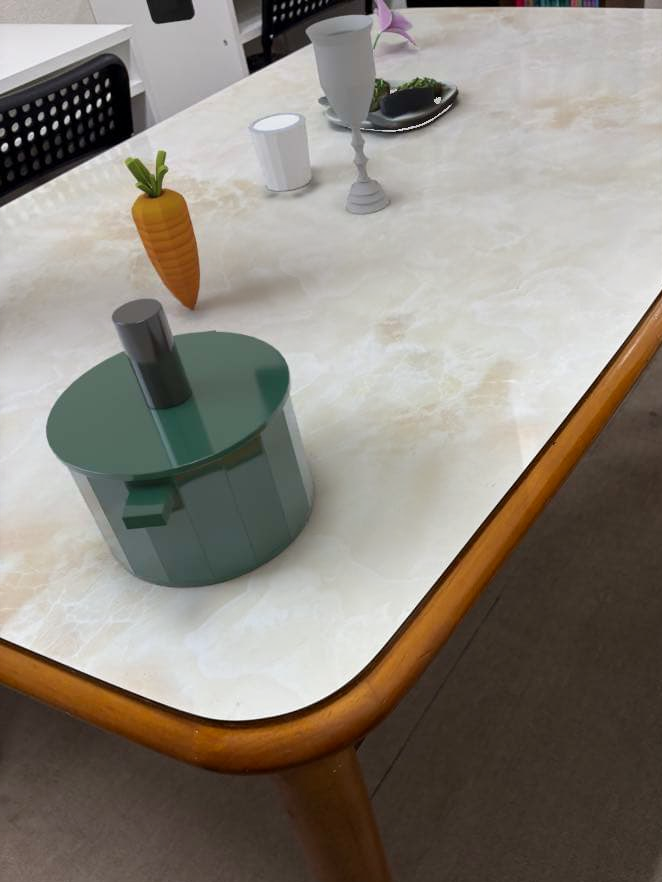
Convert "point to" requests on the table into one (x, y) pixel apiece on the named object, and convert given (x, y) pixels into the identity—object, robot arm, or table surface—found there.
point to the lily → (391, 21)
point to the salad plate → (402, 104)
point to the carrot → (166, 231)
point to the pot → (208, 511)
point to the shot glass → (282, 150)
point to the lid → (166, 400)
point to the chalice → (350, 92)
